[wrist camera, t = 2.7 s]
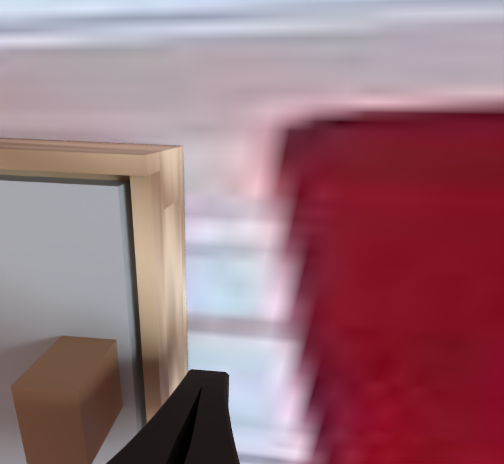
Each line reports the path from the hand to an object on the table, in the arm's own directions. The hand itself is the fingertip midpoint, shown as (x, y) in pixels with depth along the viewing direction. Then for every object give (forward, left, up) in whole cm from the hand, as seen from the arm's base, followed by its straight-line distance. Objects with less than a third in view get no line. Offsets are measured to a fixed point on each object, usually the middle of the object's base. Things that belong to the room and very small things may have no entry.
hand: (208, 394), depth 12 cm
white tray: (0, +9, -2) cm, 10 cm away
